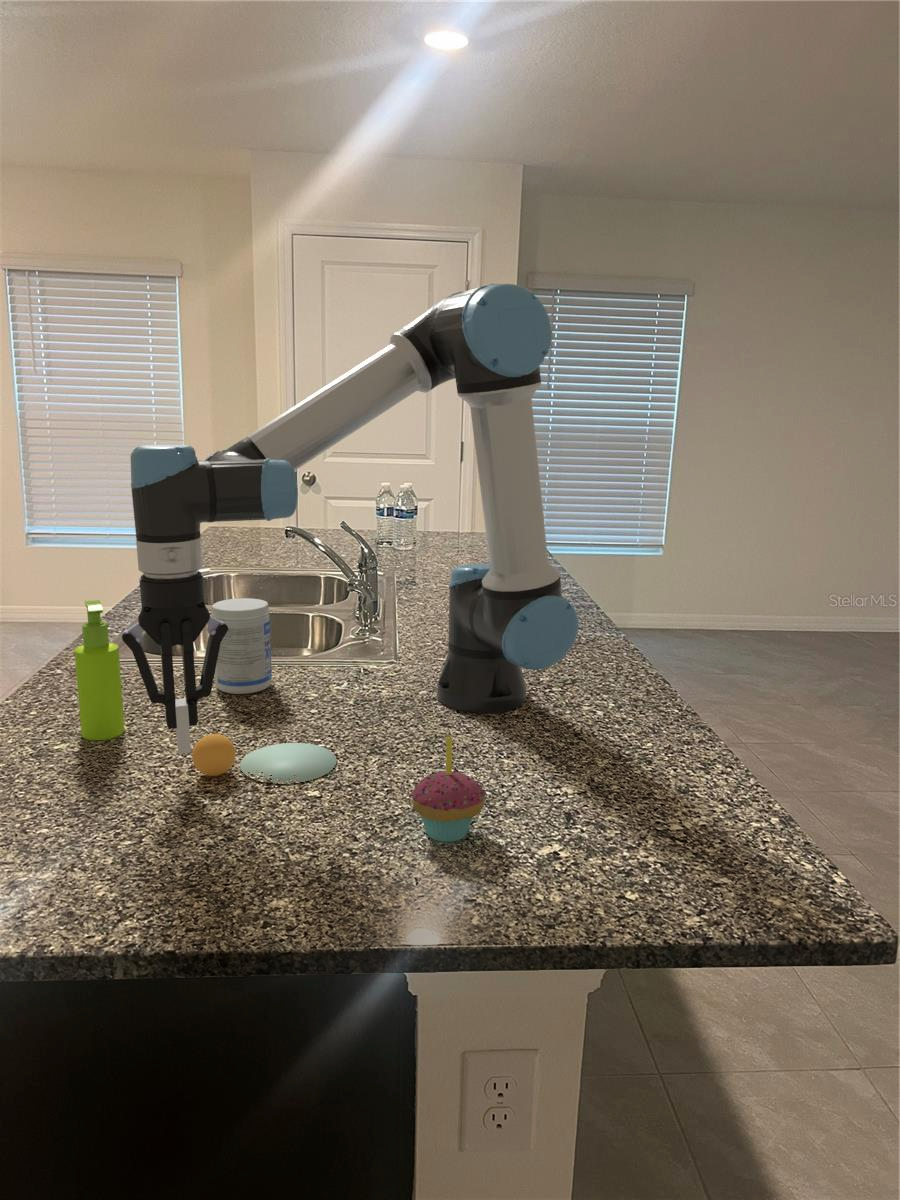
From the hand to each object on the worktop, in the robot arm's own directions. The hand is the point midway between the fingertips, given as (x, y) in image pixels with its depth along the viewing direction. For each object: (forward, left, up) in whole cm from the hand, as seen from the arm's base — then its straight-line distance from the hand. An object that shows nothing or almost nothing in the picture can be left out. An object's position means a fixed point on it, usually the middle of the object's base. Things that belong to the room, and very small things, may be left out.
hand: (184, 749), depth 109 cm
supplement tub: (+14, -33, -4) cm, 36 cm away
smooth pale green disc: (-10, -10, -4) cm, 14 cm away
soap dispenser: (+20, -7, -4) cm, 22 cm away
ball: (-3, -3, -1) cm, 4 cm away
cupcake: (-37, -2, -4) cm, 37 cm away
